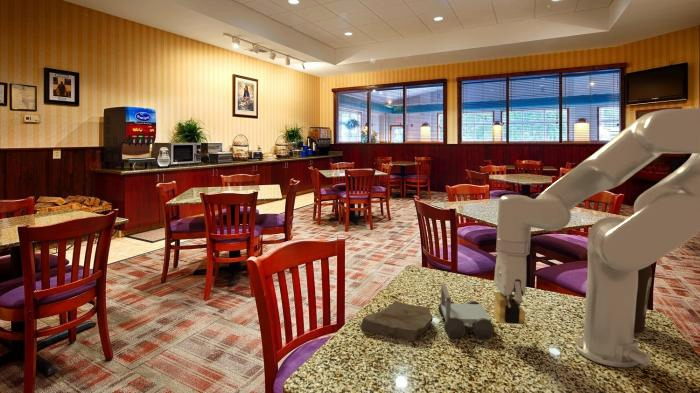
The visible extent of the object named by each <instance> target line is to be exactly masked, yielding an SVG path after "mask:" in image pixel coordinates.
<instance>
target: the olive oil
mask: <svg viewBox="0 0 700 393" xmlns="http://www.w3.org/2000/svg"><path fill="white" fill-rule="evenodd" d="M652 270H653V269H652V266H651V265H649V266H647V267H645V268H643V269H640V270H638V288H637V298H636V310H635V323H634V334H637V333H639V334H640V333H642V332H643V331H645V327H646V326H645V325H646V317H647V313H648V312H647V310H648V302H649V297H650V288H651V283H652V276H653V271H652Z"/></svg>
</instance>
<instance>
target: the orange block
mask: <svg viewBox="0 0 700 393" xmlns="http://www.w3.org/2000/svg"><path fill="white" fill-rule="evenodd" d="M514 298H515V297H511V300H512V299H514ZM505 306H507V296H504V295H503V294H502V293H500V292H495V293H494V309H493V310H494V311H493V316H494V317H495V319H496V321H497V322H498V324H507V325H525V324H526V322H525V321H526V320H525V319H526V312H525V310H524V309H523V308H522V307H521V306H520V314H519V323H506V322H505Z"/></svg>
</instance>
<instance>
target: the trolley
mask: <svg viewBox="0 0 700 393" xmlns="http://www.w3.org/2000/svg"><path fill="white" fill-rule="evenodd" d="M451 298H452V297H451V295H450V293H449V290H448V288H447V286H446V284H445V283H441V285H440V304H438V313H439V315H440V317H442V319H444V320H445V322H444V324H443V328H444V331H445V334H446V336H448V337H449V338H451V339H459V338H461V337H463V335H464V334H465V332H466V325H465V324H470V325H471V324H472V331H473V333H474V336H476V337H477V338H478V339H481V340H487V339H490V338H491V337H492V336H494V333H495V327H494V325H493V323H492V319H491V317H490V316H489V314H488V312H487V311H486V309H485V308H484V306H483V304H482V303H480V302H478V301H476V300H470V301H467V303H454V302H453V301H452V299H451Z"/></svg>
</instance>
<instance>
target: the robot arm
mask: <svg viewBox="0 0 700 393" xmlns="http://www.w3.org/2000/svg"><path fill="white" fill-rule="evenodd" d="M662 154H691V155H690V157H688V159H687V160H686V161H685V162H684V163H683V164H682V165H681V166H679V167H678V168H677V169H675V170H674V171H673V172H671V173H670V174H668V175H666V177H664V178H662V179H661V180H659V182H657V183H656V184H655V185H653V186H651V187H650V188H648V189H646V190H645V191H643V193H641V194H639V196H637V198H636V200H635V201H634V204H633V213H634V214H632V215H631V216H629V217H627V219H626V218H622V217H618V216H606V217H603V218H600V219H599V220H597V221H595V223H593V225H592V226H591V227H590V229H589V231H588V235H587V277H586V280H587V281H586V292H585V293H586V294H585V305H584V322H583V323H584V324H583V335H582V336H581V337H579V338H577V339H576V340H575V345H574V346H575V349H576V351H577V353H579V354H580V355H582V356H583V357H585V358H586V359H588V360H590V361H592V362H596V363H598V364H601V365H604V366H608V367H614V368H631V367H635V366H638V365H641V366H643V367H645V368H646V367H648V366H649V365H650V362H651V361H650V360H651V354H650V353H647V352H645V351H643V350H641V349H640V348H639V341H638V340H635V339H634V335H635V333H634V323H635V310H636V298H637V288H638V270H640V269H643V268H645V267H647V266H649V265H650V266H651V265H652V264H654V263H656V262H657V261H659V260H661V259H662V258H664V257H665V256H667V255H668V254H670V253H671V252H674V251H675V250H676V249H678V248H680V247H681V246H682V245H685V244H686V243H687V242H688V241H690V240H691V239H693V238H694V237H696V236H698V234H699V233H700V107H694V108H691V107H690V108H689V107H688V108H667V109H661V110H656V111H652V112H648V113H646V114H643V115H642V116H640V117H639V118H637V119H636V120H634V121H633V122H632V123H631V124H629V125H628V126H627V127H625V128H624V129H623V130H622V131H620V132H619V133H617V135H616V136H614V137H613V138H611V139H610V140H609V141H608V142H607V143H605V144H604V145H603V146H601V147H600V148H599V149H598V150H597V151H595V152H594V153H593V154H592V155H590V156H588V157H587V158H586V159H584V160H582V162H580V163H579V164H577V166H576V167H574V168H572V170H569V171H568V172H567V173H566V174H564V175H563V176H562V177H560V178H559V179H558V180H556V181H555V182H553V183H552V184H551V185H550V186H549V187H547V188H546V189H545V190H543V191H542V192H541V193H540V194H539V195H538V196H536V197H535V198H531V197H529V196H528V195H521V194H505V195H502V196H501V197H500V198H499V200H498V209H497V210H498V211H497V226H496V227H497V229H496V246H495V247H496V248H495V252H497V253H496V254H497V255H496V260H495V267H494V268H495V269H494V279H493V283H494V286H495V287H496V288H497V289H498V291H499V293H502V294H503V295H504V296H507V306H505V322H506V323H519V314H520V307H521V304H522V303H523V297H524V296H525V295H526V290H527V288H526V287H527V256H528V255H530V253H531V252H530V250H531V249H530V248H531V235H532V234H531V233H532V228H534V229H539V230H544V231H551V232H553V231H554V232H555V231H560V230H563V229H565V227H566V226H568V224H569V223H570V221H571V217H572V213H571V210H573V209H575V207H576V206H578V205H579V204H581V203H582V202H584V201H585V200H587V199H588V198H590V197H592V196H594V195H596V194H599V193H602V192H605V191H606V192H607V191H609V190H612V189H614V188H617V187H619V186H621V185H622V184H624V183H625V182H626V181H627V180H629V179H630V178H631V177H633V176H634V175H635V174H636V173H638V172H639V171H640V170H642V169H643V168H645V167H646V166H647V165H649V164H650V163H651V162H653V161H654V160H655V159H657V158H659V157H660V156H661V155H662ZM513 293H514V294H513ZM511 297H513V298H514V299H512V300H511Z"/></svg>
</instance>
